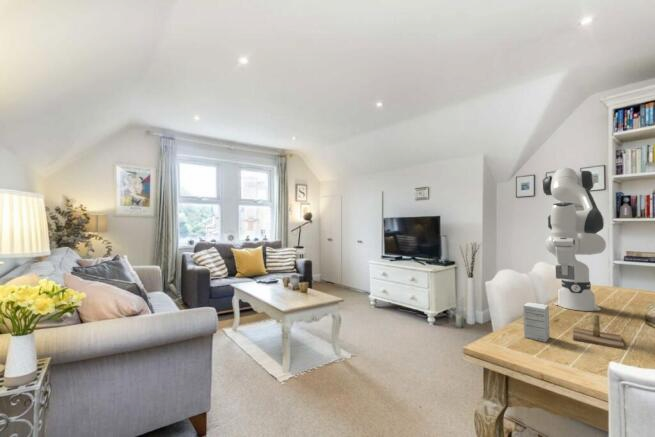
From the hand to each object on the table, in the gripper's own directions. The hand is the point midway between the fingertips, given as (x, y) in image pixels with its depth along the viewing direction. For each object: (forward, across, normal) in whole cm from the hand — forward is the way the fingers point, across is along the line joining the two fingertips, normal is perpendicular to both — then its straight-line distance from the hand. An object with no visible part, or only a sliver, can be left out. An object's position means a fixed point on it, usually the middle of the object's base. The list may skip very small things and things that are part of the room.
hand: (565, 273), depth 126 cm
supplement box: (+24, +16, -9) cm, 30 cm away
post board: (+24, +4, +9) cm, 26 cm away
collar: (+2, 0, 0) cm, 2 cm away
